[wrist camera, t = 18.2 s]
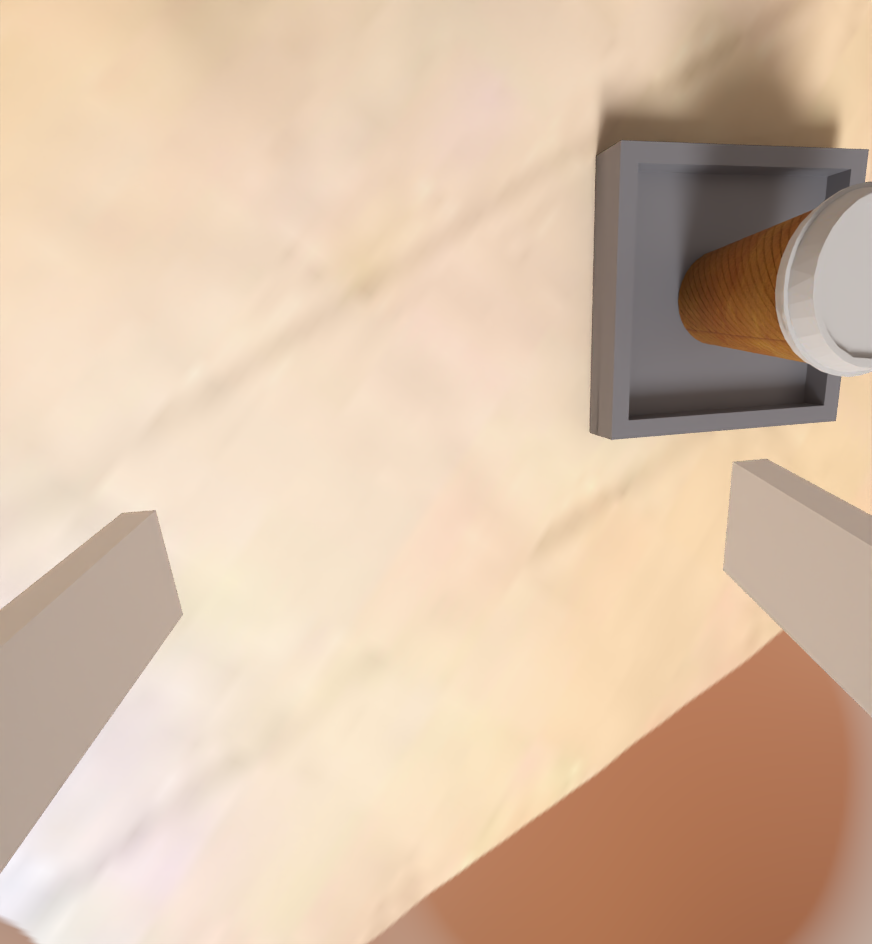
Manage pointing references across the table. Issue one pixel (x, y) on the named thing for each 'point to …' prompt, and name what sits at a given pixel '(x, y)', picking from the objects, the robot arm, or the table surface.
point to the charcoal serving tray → (662, 271)
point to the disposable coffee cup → (792, 288)
